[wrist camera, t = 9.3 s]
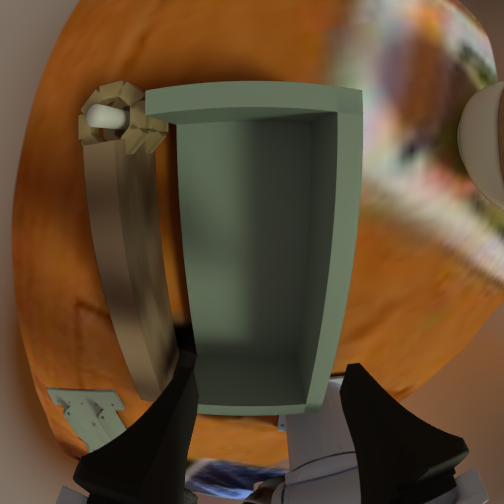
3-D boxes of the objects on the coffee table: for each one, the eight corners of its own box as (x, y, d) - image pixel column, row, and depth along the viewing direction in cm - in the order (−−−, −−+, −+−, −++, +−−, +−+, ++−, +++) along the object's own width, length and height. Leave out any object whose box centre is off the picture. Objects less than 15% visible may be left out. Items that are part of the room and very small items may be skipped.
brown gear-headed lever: (192, 354, 23) (179, 404, 17) (147, 350, 23) (127, 397, 17) (172, 92, 15) (138, 69, 10) (115, 101, 15) (68, 89, 10)
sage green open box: (306, 355, 23) (319, 411, 17) (163, 353, 23) (143, 406, 17) (325, 109, 16) (362, 90, 10) (132, 116, 16) (81, 106, 10)
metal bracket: (156, 472, 24) (82, 459, 26) (169, 446, 30) (98, 440, 32) (102, 388, 24) (36, 385, 25) (125, 367, 29) (58, 370, 31)
